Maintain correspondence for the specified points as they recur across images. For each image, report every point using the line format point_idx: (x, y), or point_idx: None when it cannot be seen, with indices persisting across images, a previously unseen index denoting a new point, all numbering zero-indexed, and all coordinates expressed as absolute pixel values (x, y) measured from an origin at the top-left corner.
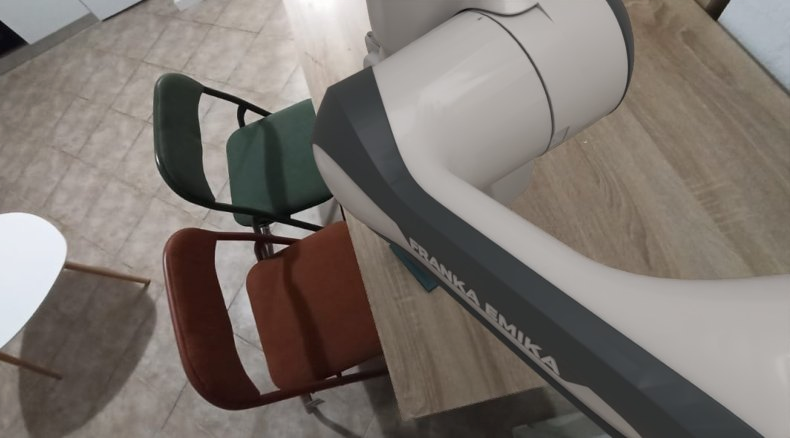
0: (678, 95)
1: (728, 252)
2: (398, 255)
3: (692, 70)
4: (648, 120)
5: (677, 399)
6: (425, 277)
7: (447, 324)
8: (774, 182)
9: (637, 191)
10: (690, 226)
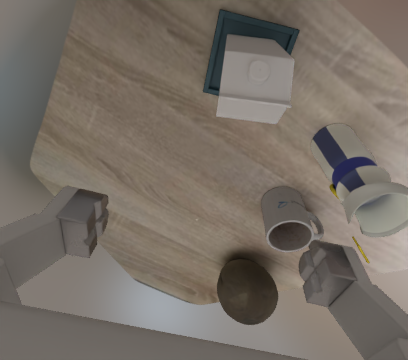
0: (171, 263)
1: None
2: (280, 26)
3: (175, 276)
4: (174, 245)
5: None
6: (234, 25)
7: None
8: None
9: (144, 202)
10: None
